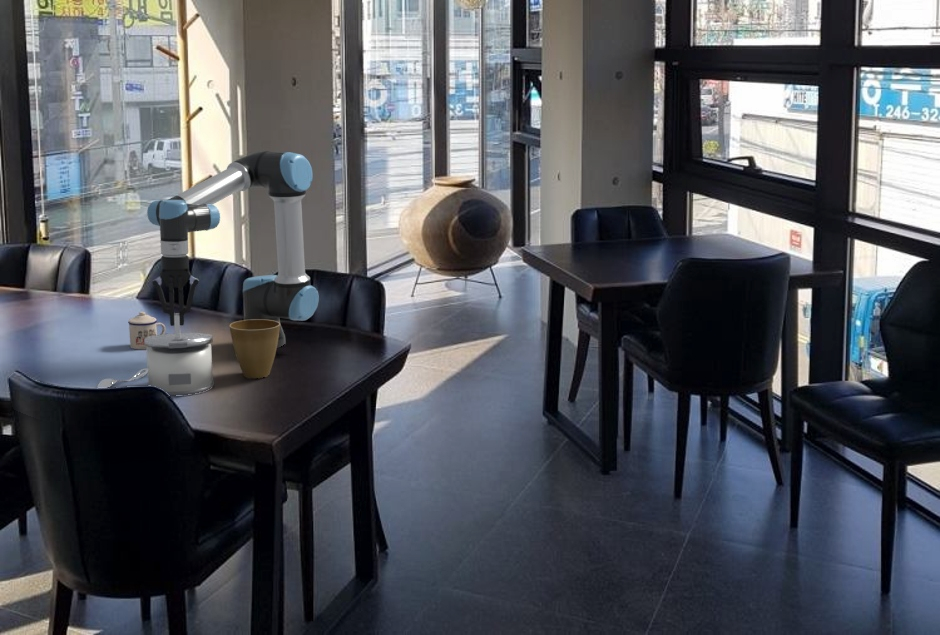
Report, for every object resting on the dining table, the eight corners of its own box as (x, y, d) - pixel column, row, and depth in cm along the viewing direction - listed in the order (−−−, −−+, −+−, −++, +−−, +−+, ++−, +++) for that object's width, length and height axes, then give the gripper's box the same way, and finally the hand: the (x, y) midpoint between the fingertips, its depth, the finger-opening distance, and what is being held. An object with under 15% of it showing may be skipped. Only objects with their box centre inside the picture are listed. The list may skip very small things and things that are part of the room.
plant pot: (291, 375, 332) (290, 324, 329) (251, 385, 322) (249, 332, 318) (261, 365, 342) (259, 316, 338) (221, 375, 331) (219, 324, 328)
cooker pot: (213, 376, 330) (211, 337, 327) (214, 394, 312) (212, 353, 310) (148, 379, 326) (146, 340, 323) (146, 398, 308) (144, 357, 305)
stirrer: (140, 361, 332) (153, 363, 330) (141, 372, 333) (154, 374, 331) (93, 381, 315) (105, 383, 313) (94, 393, 316) (107, 395, 314)
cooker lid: (212, 337, 328) (212, 331, 327) (213, 347, 307) (213, 341, 307) (146, 340, 323) (145, 334, 323) (142, 350, 303) (142, 344, 302)
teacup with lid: (135, 351, 357) (133, 316, 354) (125, 345, 364) (123, 311, 361) (170, 346, 364) (169, 312, 361) (160, 340, 371) (159, 306, 368)
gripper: (150, 257, 305) (153, 340, 310) (198, 256, 308) (201, 338, 313) (151, 253, 312) (154, 334, 317) (198, 252, 316) (200, 332, 320)
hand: (177, 336), depth 315 cm, fingers closed
